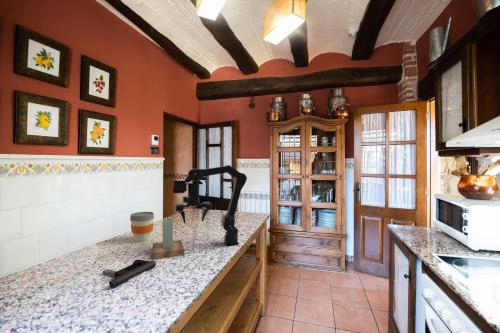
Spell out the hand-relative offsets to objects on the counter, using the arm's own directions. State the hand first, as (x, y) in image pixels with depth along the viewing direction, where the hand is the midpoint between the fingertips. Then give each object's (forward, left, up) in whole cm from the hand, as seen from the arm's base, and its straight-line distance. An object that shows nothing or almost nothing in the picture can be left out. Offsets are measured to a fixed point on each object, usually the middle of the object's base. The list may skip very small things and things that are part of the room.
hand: (193, 222), depth 125 cm
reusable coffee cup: (+24, -25, -13) cm, 37 cm away
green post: (+13, +1, -10) cm, 16 cm away
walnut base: (+13, +1, -13) cm, 18 cm away
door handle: (+31, +17, -14) cm, 38 cm away
